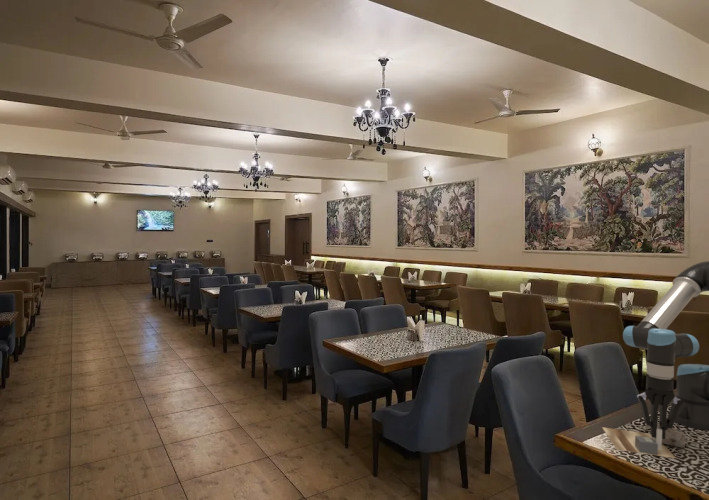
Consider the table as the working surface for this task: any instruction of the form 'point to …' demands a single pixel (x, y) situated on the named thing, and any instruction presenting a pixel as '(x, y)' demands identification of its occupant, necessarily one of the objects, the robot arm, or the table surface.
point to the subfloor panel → (632, 441)
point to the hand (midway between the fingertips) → (657, 447)
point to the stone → (674, 437)
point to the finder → (646, 445)
